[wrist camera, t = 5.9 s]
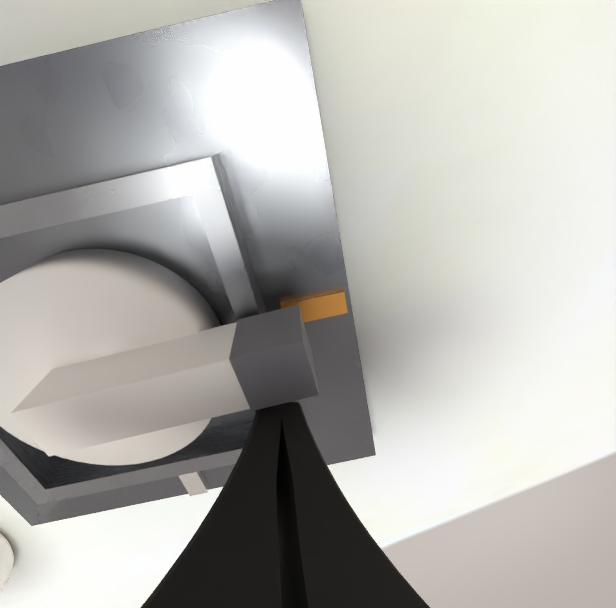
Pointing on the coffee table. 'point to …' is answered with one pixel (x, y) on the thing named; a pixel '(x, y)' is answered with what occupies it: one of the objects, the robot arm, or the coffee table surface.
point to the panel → (183, 219)
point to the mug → (5, 561)
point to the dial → (133, 358)
